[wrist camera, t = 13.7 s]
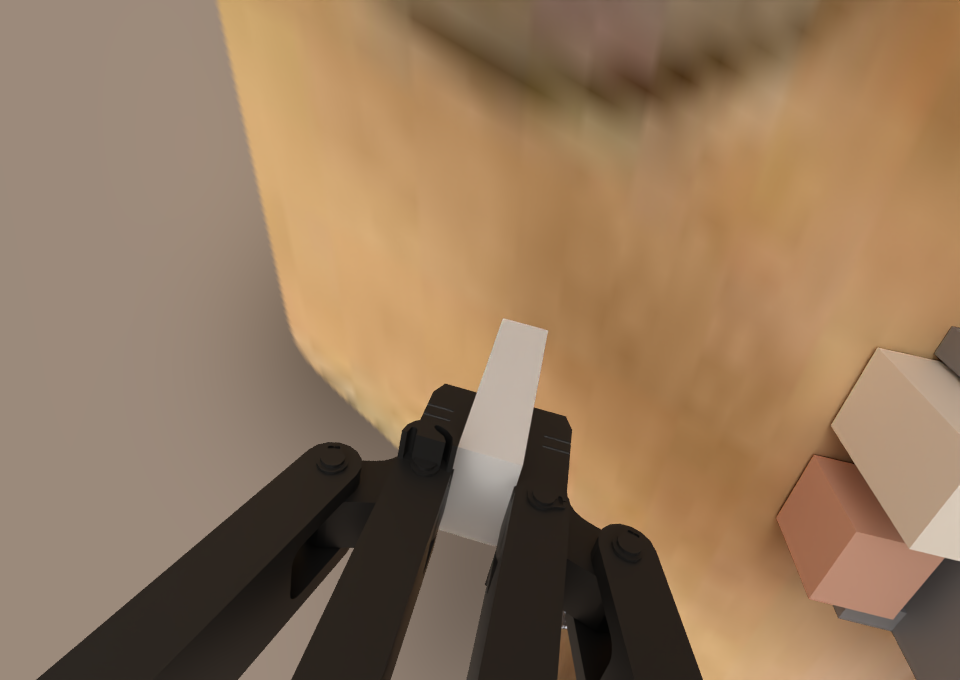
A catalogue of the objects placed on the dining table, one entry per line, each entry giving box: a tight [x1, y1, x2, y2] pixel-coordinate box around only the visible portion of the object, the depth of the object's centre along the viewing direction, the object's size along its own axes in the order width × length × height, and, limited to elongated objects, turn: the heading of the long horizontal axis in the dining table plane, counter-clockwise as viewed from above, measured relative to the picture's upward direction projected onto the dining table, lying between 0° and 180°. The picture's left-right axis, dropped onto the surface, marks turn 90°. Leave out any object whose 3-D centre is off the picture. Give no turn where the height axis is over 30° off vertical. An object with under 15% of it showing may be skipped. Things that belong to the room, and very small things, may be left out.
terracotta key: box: [776, 455, 944, 620], centre depth 43 cm, size 7×6×8 cm
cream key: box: [831, 347, 960, 561], centre depth 37 cm, size 7×6×12 cm
